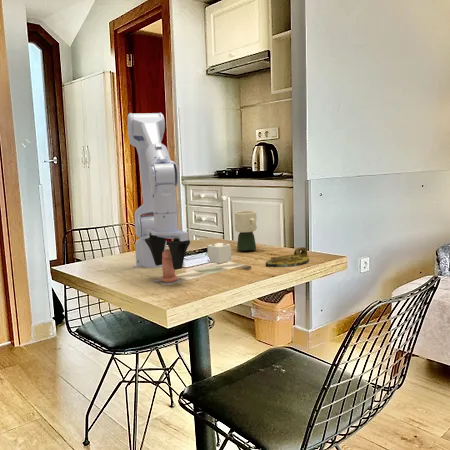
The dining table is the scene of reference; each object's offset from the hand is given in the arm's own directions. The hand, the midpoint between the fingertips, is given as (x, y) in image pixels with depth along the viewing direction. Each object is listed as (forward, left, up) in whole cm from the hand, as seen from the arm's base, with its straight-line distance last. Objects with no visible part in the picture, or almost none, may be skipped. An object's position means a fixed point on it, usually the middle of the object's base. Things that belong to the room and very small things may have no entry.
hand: (168, 266), depth 119 cm
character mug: (-14, +43, -5) cm, 45 cm away
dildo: (0, 0, -4) cm, 4 cm away
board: (0, +11, -5) cm, 11 cm away
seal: (+8, +37, -5) cm, 38 cm away
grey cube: (-10, +27, -5) cm, 29 cm away
